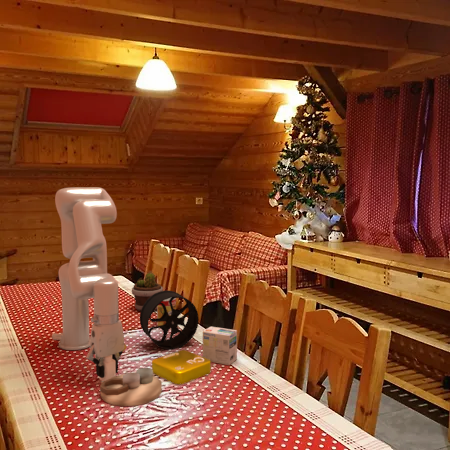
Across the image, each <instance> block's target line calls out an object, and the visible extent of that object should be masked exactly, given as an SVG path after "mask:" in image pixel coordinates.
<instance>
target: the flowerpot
mask: <svg viewBox="0 0 450 450" xmlns="http://www.w3.org/2000/svg"><path fill="white" fill-rule="evenodd" d="M143 277H144V278H143ZM143 277H140V279H138V280H137V281H136V283H135V284H133V287H132V288H131V295H133V297H134V301H135V302H134V307H135V309H136V310H137V311H138V312H141V309H142V307H143V305H144V303H145V302H146V301H147V299H148V298H150V297H151V296H152V295H154V294H155V293H157V292H160V291H164V288H163V286H162V285H161V284H159V283H157V282H156V280H157V276H156V274H155V273H154V271H153V270H149V271H147V272H146V273H145V274H144V276H143ZM153 312H157V307H156V308H155V310H154V311H153Z"/></svg>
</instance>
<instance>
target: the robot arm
mask: <svg viewBox="0 0 450 450" xmlns="http://www.w3.org/2000/svg"><path fill="white" fill-rule="evenodd" d="M54 199H55V200H54V201H55V203H54V204H55V208H56V210H57V213H58V215H59V218H60V223H61V225H60V226H61V249H62V255H63V256H64V257H65V258H66V259H69V262H67V263H64V264H62V265H61V266H60V267H59V269H58V280H59V285H60V290H61V307H62V309H61V310H62V311H61V312H62V332H61V333H56V332H54V333H52V335H51V338H52V340H53V341H58V342H59V343H58V347H59V348H60V349H62V350H67V351H77V350H78V351H79V350H84V349H87V348H89V347H90V348H89V351H88V353H87V355H86V356H85V359H87V360H89V361H91V362H92V363H94V365H95V368H96V369H95V373H96V376H97V377H98V378H99V377H101V378H104V365H102V363H103V358H104V357H106V356H109V355H112V359H114V360H115V361H116V374H118V373H119V361H120V360H121V356H122V355H123V354H124V353H123V352H124V351H126V349H127V348H128V347H127V345H126V343H125V336H124V335H125V334H124V328H123V323H122V320H121V319H120V318H119V317H120V316H119V314H120V312H119V307H120V306H119V283H118V280H117V279H115V277H114V275H113V274H110V273H108V253H107V252H108V251H107V249H108V248H107V241H106V237H105V236H104V234H103V227H102V224H105V225H106V224H112V223H114V222H116V219H117V216H118V213H117V206H116V205H115V202H114V200H113V198H112V197H111V196H110V194H109V193H108V192H107V191H106V189H105V188H102V187H96V186H95V187H93V186H92V187H91V186H90V187H88V186H87V187H83V186H82V187H81V186H80V187H79V186H78V187H75V186H73V187H64V188H61V189H60V188H59V189H58V190H57V191H56V193H55V198H54ZM86 258H87V259H88V258H92V260H84V261H83V260H82V259H86ZM89 299H93V317H91V318H90V311H89V310H90V304H89V303H90V302H89ZM90 322H91V323H92V326H91V331H90Z"/></svg>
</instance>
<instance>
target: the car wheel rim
mask: <svg viewBox="0 0 450 450" xmlns="http://www.w3.org/2000/svg"><path fill="white" fill-rule="evenodd" d="M168 298H171V299H170V300H169V303H170V307H171V310H172V313H171V316H169V315H168V312H167V309H166V306H165V304H164V303H161V302H162V301H163V300H166V299H168ZM174 298H176V299H182V300H183V301H184V302H185V305H184V306H182V307H181V308H180V309H177V308H176V309H174V308H173V306H172V300H173V299H174ZM159 304H162V307H163V309H164V314H163V315H162V317H161V318H157V317H156V318H152V314H153V313H154V312H155V311H154V310H155V308H156V307H157V306H158V305H159ZM187 309H188V311H187V312H186V313H184V312H185V311H186V310H187ZM183 313H184V315H182V316H181V317H179V316H180V315H181V314H183ZM186 318H187V320H186ZM185 320H186V323H185ZM160 321H165V322H166V324H164V325H160V326H157V325H155V326H151V327H150V328H149V322H152V323H157V322H160ZM199 322H200V321H199V314H198V310H197V308H196V306H195V304H194V303H193V302H192V301H191V300H189V299H188V298H186V297H184V296H183V295H182V294H180V293H179V292H176V291H174V290H173V291H172V290H163V291H160V292H157V293H155V294H154V295H152V296H151V297H150V298H148V299H147V301H146V302H145V303H144V305H143V307H142V309H141V311H140V312H139V323H140V324H139V325H140V328H141V329H142V331H143V333H144V334H145V335H146V336H147V337H148V338H149V339H150V341H151V342H152V343H153V344H155V346H157V347H158V348H160V349H164V350H176V349H179V348H182V347H183V346H185V345H187V344H188V343H189V342H190V341H191V340H192V338H193V337H194V336H195V334H196V332H197V330H198V327H199ZM178 326H182V327H183V328H182V329H179V327H178ZM157 329H160V330H161V331H162V332H163V335H162V337H161V340H159V339H156V338H154V337H152V335H151V332H152V331H153V330H157ZM169 331H170V334H169V339H167V336H168V333H169ZM174 335H175V336H174Z"/></svg>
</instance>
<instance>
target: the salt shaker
mask: <svg viewBox="0 0 450 450" xmlns="http://www.w3.org/2000/svg"><path fill="white" fill-rule="evenodd" d="M102 365H104V378H101V377H99V376H98V379H99V380H100V381H102V382H103V381H106V380H108V379H110V378H112V377H115V376H117V373H116V361H115V360H114V359H112V355H109V356H106V357H104V358H103V363H102Z"/></svg>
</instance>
